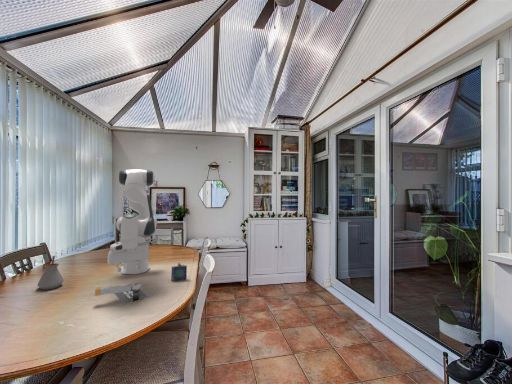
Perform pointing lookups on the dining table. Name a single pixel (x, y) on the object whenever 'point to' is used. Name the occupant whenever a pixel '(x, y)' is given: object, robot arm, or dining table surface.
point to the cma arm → (117, 289)
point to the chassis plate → (127, 300)
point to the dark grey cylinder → (136, 295)
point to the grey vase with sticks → (50, 276)
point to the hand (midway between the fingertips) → (128, 269)
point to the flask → (179, 272)
